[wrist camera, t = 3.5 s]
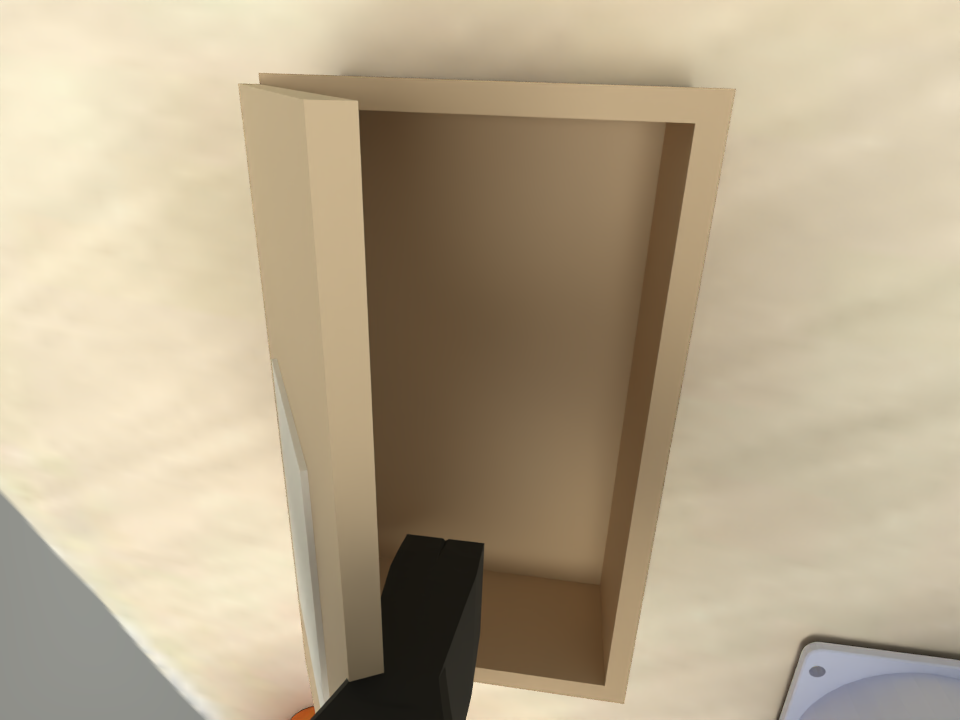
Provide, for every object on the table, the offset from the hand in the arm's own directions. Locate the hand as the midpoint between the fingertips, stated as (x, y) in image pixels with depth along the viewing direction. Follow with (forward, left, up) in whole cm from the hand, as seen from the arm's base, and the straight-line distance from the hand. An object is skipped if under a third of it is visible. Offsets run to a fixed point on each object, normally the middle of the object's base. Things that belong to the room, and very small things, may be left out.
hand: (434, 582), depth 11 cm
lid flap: (0, +2, -1) cm, 2 cm away
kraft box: (0, 0, -9) cm, 9 cm away
